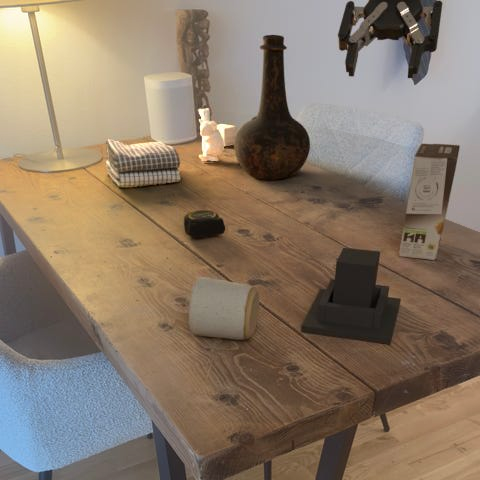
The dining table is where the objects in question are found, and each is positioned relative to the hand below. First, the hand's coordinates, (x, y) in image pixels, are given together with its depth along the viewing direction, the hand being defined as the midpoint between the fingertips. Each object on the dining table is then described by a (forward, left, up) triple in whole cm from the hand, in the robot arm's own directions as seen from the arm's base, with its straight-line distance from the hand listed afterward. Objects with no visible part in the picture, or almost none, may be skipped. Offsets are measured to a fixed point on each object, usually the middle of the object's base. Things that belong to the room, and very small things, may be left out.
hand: (380, 73), depth 82 cm
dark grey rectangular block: (+7, +23, -26) cm, 36 cm away
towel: (+39, -53, -27) cm, 71 cm away
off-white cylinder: (+25, +25, -27) cm, 44 cm away
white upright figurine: (+22, -65, -27) cm, 74 cm away
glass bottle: (+8, -49, -27) cm, 57 cm away
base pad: (+7, +24, -27) cm, 36 cm away
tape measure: (+26, -11, -27) cm, 39 cm away
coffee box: (-11, +1, -27) cm, 29 cm away
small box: (+17, -82, -27) cm, 88 cm away
